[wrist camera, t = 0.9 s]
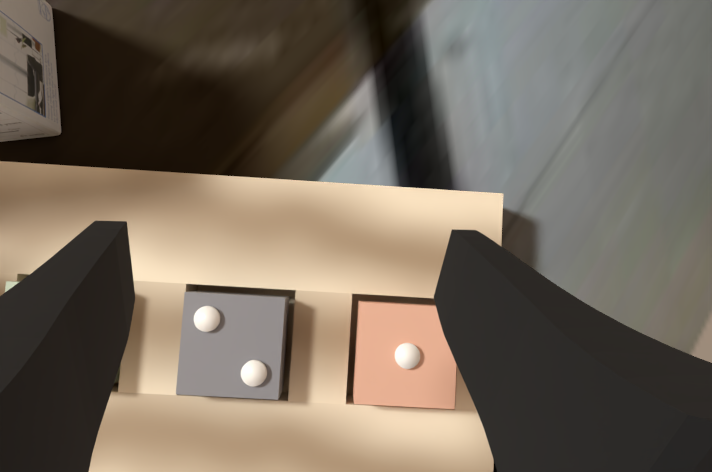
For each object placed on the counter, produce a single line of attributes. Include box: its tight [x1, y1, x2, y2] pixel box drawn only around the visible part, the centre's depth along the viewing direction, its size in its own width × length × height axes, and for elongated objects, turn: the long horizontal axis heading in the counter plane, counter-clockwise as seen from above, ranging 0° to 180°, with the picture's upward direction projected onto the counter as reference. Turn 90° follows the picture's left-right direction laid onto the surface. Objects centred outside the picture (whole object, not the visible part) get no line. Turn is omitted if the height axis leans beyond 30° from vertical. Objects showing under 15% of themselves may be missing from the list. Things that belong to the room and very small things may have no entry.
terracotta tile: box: [353, 300, 456, 409], centre depth 22 cm, size 4×4×2 cm
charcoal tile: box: [176, 291, 290, 400], centre depth 22 cm, size 4×4×2 cm
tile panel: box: [0, 161, 503, 472], centre depth 24 cm, size 14×22×2 cm, turn 87°
